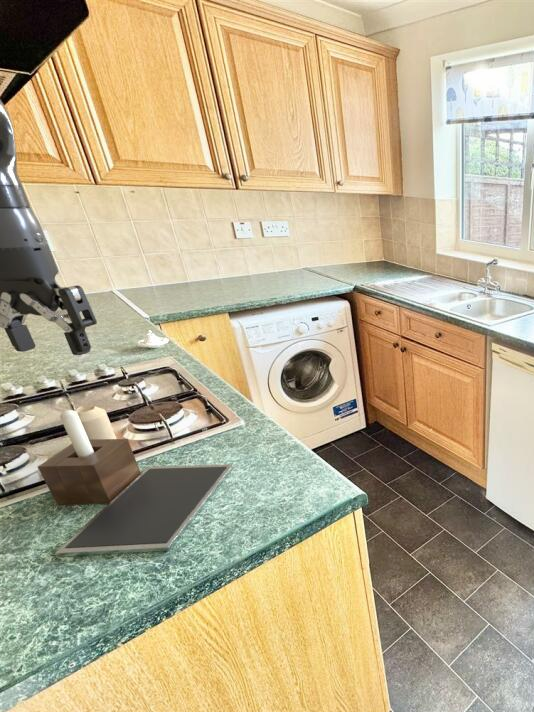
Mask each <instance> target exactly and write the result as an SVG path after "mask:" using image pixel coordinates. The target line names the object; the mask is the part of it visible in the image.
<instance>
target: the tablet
mask: <svg viewBox="0 0 534 712" xmlns="http://www.w3.org/2000/svg"><path fill="white" fill-rule="evenodd" d="M234 469H235V465H234V464H233V463H231V464H195V465H194V464H192V465H191V464H190V465H156V466H148V467H147V468H146V469H144V470H143V471H142V472H141V474H140V475H139V476H138V477H137V478H136V479H135V480H134V481H133V482H132V483H130V484H129V485H128V486H127V487H126V488H125V489H124V490H123V491H122V492H121V493H120V494H118V495H117V496H116V497H115V498H114V499H113V500H112V501H111V502H110V503H109V504H106V505H105V506H104V507H103V508H102V509H101V510H100V511H99V512H98V513H96V515H95V516H93V517H92V518H91V519H90V520H89V521H88V522H86V524H85V525H84V526H82V527H81V528H80V529H79V530H78V531H77V532H76V533H75V534H74V535H73V536H72V537H70V538H69V539H68V540H67V541H66V542H65V543H64V544H63V545H62V546H60V548H59V549H58V550H56V551H55V552H54V554H55V556H56V557H57V558H59V557H60V558H61V557H79V556H98V555H115V554H134V553H135V554H137V553H153V552H154V553H155V552H170V551H171V550H172V548H173V547H174V546H175V545H176V544H177V542H178V541H179V539H180V538H181V537H182V536H183V534H184V533H185V532H186V531H187V530H188V528H189V527H190V525H191V524H192V523H193V521H194V520H195V519H196V518H197V517H198V515H200V513H201V511H202V510H203V508H205V506H206V505H207V504H208V502H209V501H210V500H211V498H212V497H213V496H214V494H215V493H216V492H217V491H218V489H219V488H220V487H221V486H222V484H223V483H224V482H225V481H226V479H227V478H228V476H229V475H230V474H231V472H232V471H233V470H234Z"/></svg>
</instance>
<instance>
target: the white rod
mask: <svg viewBox="0 0 534 712" xmlns="http://www.w3.org/2000/svg"><path fill="white" fill-rule="evenodd" d="M59 419H60V421H61V422H62V425H63V427H64V430H65V431H66V434H67V436H68V438H69V440H70V442H71V444H73V447H74V449H75V451H76V453H77V455H78V458H81V457H90V456H91V455H92V454H94V451H93V448H92V446H91V444H90V441H89V439H88V437H87V434H86V432H85V430H84V428H83V425H82V423H81V421H80V418H79V416H78V414H77V412H75V410H74V409H73V410H72V409H66V410H64V411H62V412H61V413H60V416H59Z"/></svg>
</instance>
